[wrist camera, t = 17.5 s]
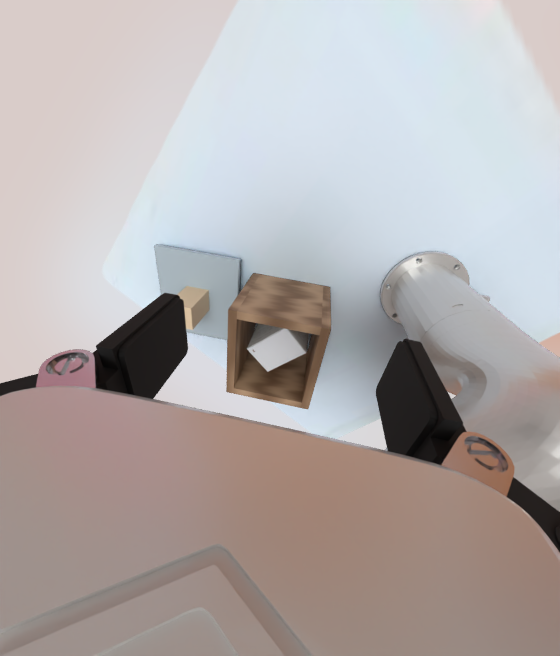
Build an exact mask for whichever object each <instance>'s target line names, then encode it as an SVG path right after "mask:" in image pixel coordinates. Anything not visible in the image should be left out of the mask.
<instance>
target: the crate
mask: <svg viewBox="0 0 560 656" xmlns="http://www.w3.org/2000/svg"><path fill="white" fill-rule="evenodd" d="M256 323H259V324H264V325H269V326H274V327H279V328H284V329H290V330H295V331H300V332H305V333H310V334H312V335H311V339H310V343H309V347H308V351H307V353H305V354H303V355H301V356H299V357H297V358H295V359H293V360H291V361H289V362H287V363H285V364H283V365H281V366H279V367H277V368H275V369H273V370H271V371H269V372H267V371H266V370H265V368H264V367H263V366H262V365H261V364H260V363H259V362H258V361H257V360H256V359H255V358H254V356H253V355H252V354H251V353H250V352H249V351H248V350H247V347H248V345H249V342H250V340H251V338H252V336H253V333H254V331H255V326H256ZM330 331H331V303H330V287H327V286H322V285H316V284H311V283H305V282H300V281H294V280H289V279H284V278H278V277H273V276H267V275H262V274H256V273H253V274H252V276H251V277H250V279H249V280H248V282H247V283H246V284H245V286H244V287H243V289H242V290H241V292H240V293H239V294H238V296H237V297H236V299H235V300H234V302H233V303H232V305H231V306H230V307H229V309H228V339H227V392H229V393H234V394H239V395H244V396H248V397H253V398H257V399H263V400H267V401H271V402H276V403H281V404H285V405H290V406H295V407H299V408H304V409H308V408H309V404H310V401H311V397H312V394H313V390H314V387H315V383H316V380H317V376H318V373H319V369H320V366H321V363H322V359H323V356H324V352H325V349H326V345H327V342H328V338H329V335H330Z"/></svg>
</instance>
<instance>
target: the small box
mask: <svg viewBox="0 0 560 656" xmlns="http://www.w3.org/2000/svg"><path fill="white" fill-rule="evenodd" d="M308 335H309V333H305V332H300V331H295V330H290V329H284V328H279V327H274V326H269V325H264V324H259V323H258V324H257V326H256V329H255V331H254V333H253V336H252V338H251V340H250V342H249V345H248V347H247V350H248V351H249V352H250V353H251V354H252V355H253V356H254V358H255V359H256V360H257V361H258V362H259V363H260V364H261V365H262V366H263V367H264V368H265V370H266V371H267V372H269V371H271V370H273V369H275V368H277V367H279V366H281V365H283V364H285V363H287V362H289V361H291V360H293V359H295V358H297V357H299V356H301V355H303V354H305V353H307V345H308Z"/></svg>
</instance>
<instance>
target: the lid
mask: <svg viewBox="0 0 560 656" xmlns="http://www.w3.org/2000/svg"><path fill="white" fill-rule="evenodd" d="M154 250H155V256H156V263H157V270H158V277H159V284H160V291H161V295H162V294H163V293H170V294H175V295H179V296H180V299H182V300H183V301H184V310H185V321H186V332H188V333H193V334H198V335H203V336H208V337H213V338H218V339H223V340H227V339H228V309H229V307H230V306H231V305H232V303H233V302H234V300H235V299H236V297H237V296H238V294H239V285H240V259H238V258H233V257H227V256H221V255H216V254H210V253H204V252H199V251H193V250H187V249H182V248H176V247H170V246H165V245H159V244H157V245H155V246H154Z"/></svg>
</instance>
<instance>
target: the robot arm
mask: <svg viewBox="0 0 560 656" xmlns="http://www.w3.org/2000/svg"><path fill="white" fill-rule="evenodd" d="M417 258H419V259H418V260H416V259H417ZM455 265H456V266H455ZM454 266H455V267H454ZM388 284H389V285H388ZM386 285H388V286H386ZM380 295H381V303H382V306H383V308H384V311H385V312H386V314H387V315H388V316H389V317H390V318H391V319H392V320H394V321H395V322H397V323H399V324H402V326H403V328H404V330H405V332H406V334H407V336H408V339H404V340H403V342H401V341H400V342H398V344H397V346H396V348H395V350H394V352H393V354H392V356H391V358H390V360H389V362H388V365H387V367H386V369H385V371H384V373H383V375H382V377H381V379H380V381H379V383H378V386H377V388H376V397H377V402H378V406H379V411H380V416H381V421H382V425H383V430H384V435H385V440H386V444H387V448H386V450H380V449H377V448H372V447H368V446H364V445H359V444H355V443H351V442H346V441H342V440H337V439H333V438H329V437H324V436H320V435H315V434H311V433H306V432H302V431H297V430H293V429H289V428H284V427H279V426H274V425H270V424H266V423H261V422H257V421H252V420H248V419H243V418H239V417H234V416H229V415H224V414H220V413H215V412H211V411H206V410H202V409H196V408H192V407H187V406H183V405H178V404H174V403H169V402H164V401H160V400H155V399H153V398H154V397H155V395H156V394H157V393H158V391H159V390H160V389H161V387H162V386H163V385H164V383H165V382H166V381H167V379H168V378H169V377H170V375H171V374H172V373H173V371H174V370H175V369H176V367H177V366H178V365H179V363H180V362H181V361H182V359H183V358H184V357H185V355H186V354H187V350H188V344H187V333H186V321H185V310H184V301H183V300H182V299H180V296H179V295H175V294H170V293H163V294H162V295H161V296H159V297H158V298H157V299H156V300H154V301H153V302H152V303H150V304H149V305H148V306H147V307H145V308H144V309H143V310H142V311H140V312H139V313H138V314H137V315H135V316H134V317H132V318H131V319H130V320H129V321H127V322H126V323H125V324H123V325H122V326H121V327H120V328H118V329H117V330H116V331H114V332H113V333H112V334H111V335H109V336H108V337H107V338H105V339H104V340H103V341H102V342H100V343H99V344H98V345H97V346H96V348H97V350H96V351H95V352H93V353H91V352H90V351H87V350H81V349H75V350H68V351H65V352H61V353H58V354H56V355H53V356H52V357H50V358H49V359H47V360H46V361H45V362H44V363H43V364H42V365H41V367H40V369H39V373H38V374H36V375H31V376H28V377H24V378H20V379H16V380H12V381H8V382H4V383H1V384H0V656H560V357H558V356H557V355H555V354H554V353H552V352H550V351H549V350H547V349H546V348H544V347H543V346H542V345H540V344H539V343H538V342H536V341H535V340H534V339H532V338H531V337H530V336H529V335H527V334H526V333H525V332H523V331H522V330H521V329H520V328H518V327H517V326H516V325H515V324H514V323H513V322H511V321H510V320H509V319H508V318H507V317H505V316H504V315H503V314H502V313H501V312H500V311H498V310H497V309H496V308H495V307H494V306H492V305H491V304H490V303H489V301H490V297H489V296H486V295H480V294H478V293H477V292H476V291H475V290H474V289H472V288H471V287H470V286H469V275H468V272H467V270H466V268H465V267H464V265H463V264H462V263H461V262H460V261H459V260H457V259H456V258H454V257H453V256H451V255H448V254H446V253H442V252H423V253H418V254H415V255H412V256H410V257H408V258H406V259H404V260H402V261H401V262H400V263H398V264H397V265H396V266H395V267H394V268H393V269H392V270H391V271H390V272H389V273H388V275H387V276H386V278H385V280H384V282H383V284H382V287H381V292H380ZM394 313H395V314H394ZM447 391H448V392H450V393H452V394H454V395H456V396H455V397H454V398H452V399H451V398H450V396H449V394H448V392H447Z"/></svg>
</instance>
